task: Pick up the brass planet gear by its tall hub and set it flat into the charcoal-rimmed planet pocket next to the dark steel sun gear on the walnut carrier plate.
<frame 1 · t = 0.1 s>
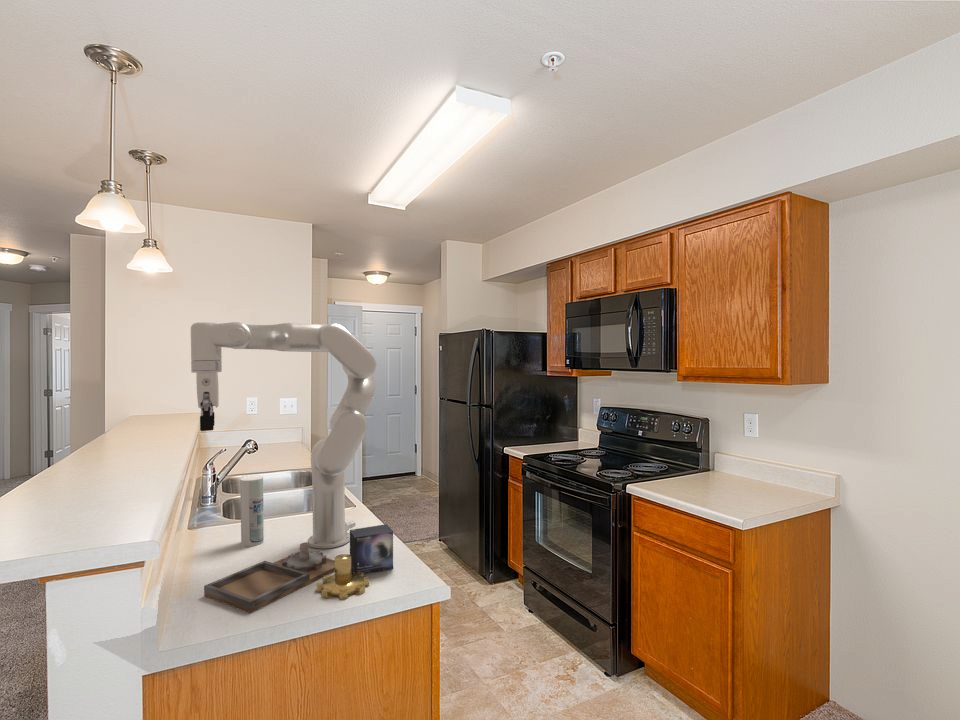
hand: (207, 428, 145), 37 cm above the counter, tool pointing down, fingers open, 9 cm apart
small box: (371, 569, 140), on the counter
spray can: (252, 543, 159), on the counter
planet gear: (343, 587, 128), on the counter
carrier plate: (278, 580, 133), on the counter
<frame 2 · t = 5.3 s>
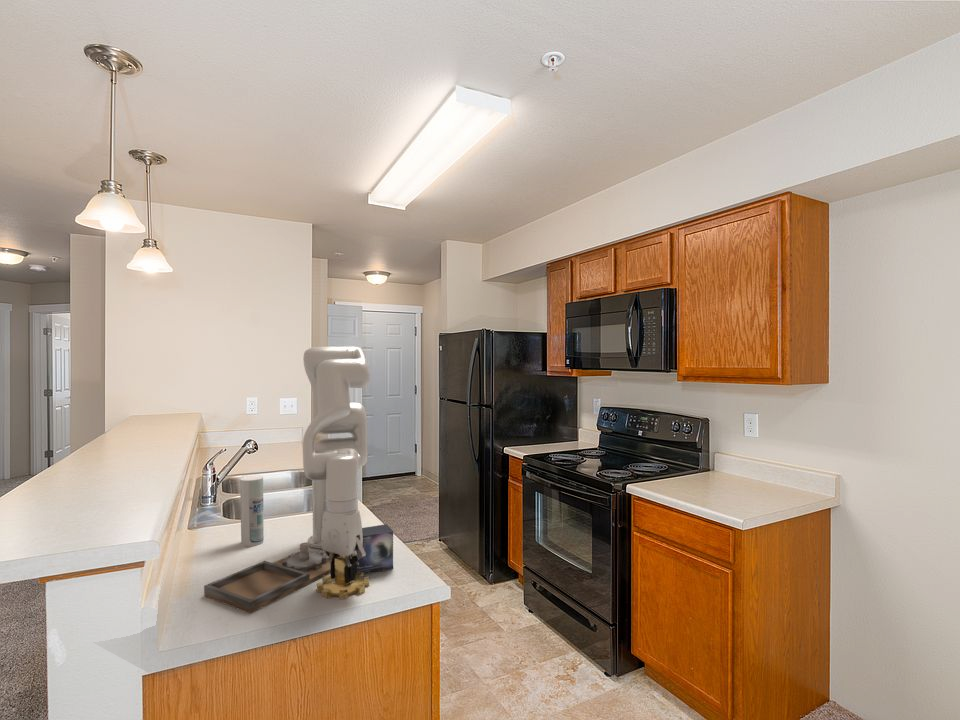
hand: (343, 578, 128), 2 cm above the counter, tool pointing down, fingers closed on planet gear, 4 cm apart
planet gear: (343, 587, 128), on the counter, touching gripper
everything else where it was.
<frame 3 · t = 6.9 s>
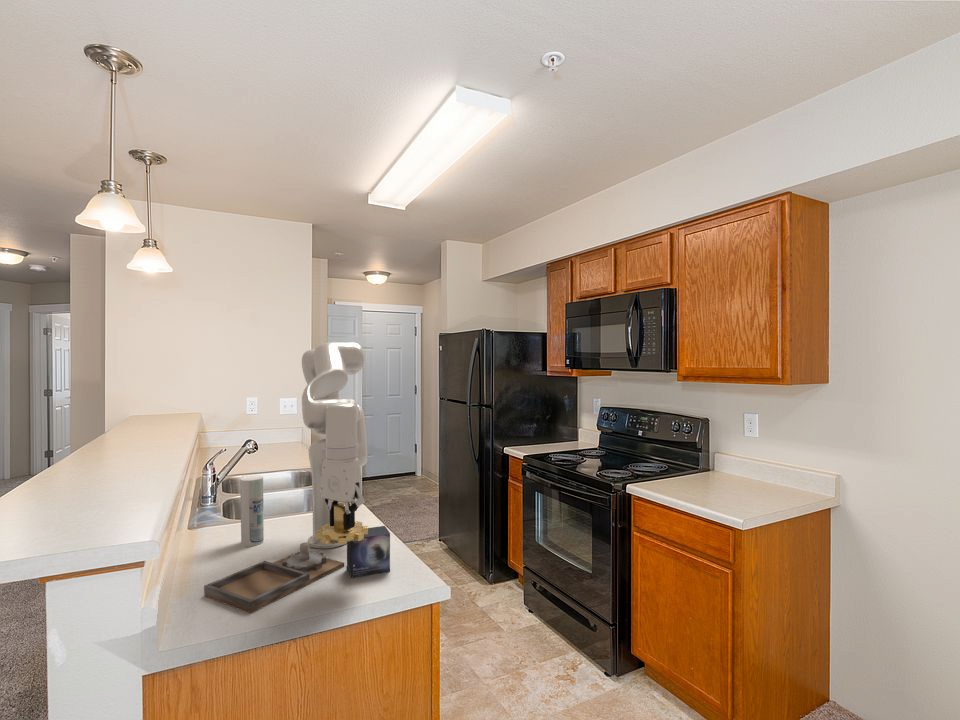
hand: (342, 525, 129), 15 cm above the counter, tool pointing down, fingers closed on planet gear, 4 cm apart
small box: (368, 571, 138), on the counter
planet gear: (342, 535, 129), point 13 cm above the counter, touching gripper
everything else where it was.
when the fingers open (5 cm above the counter, at t = 11.9 s): planet gear drops 1 cm, resting on carrier plate.
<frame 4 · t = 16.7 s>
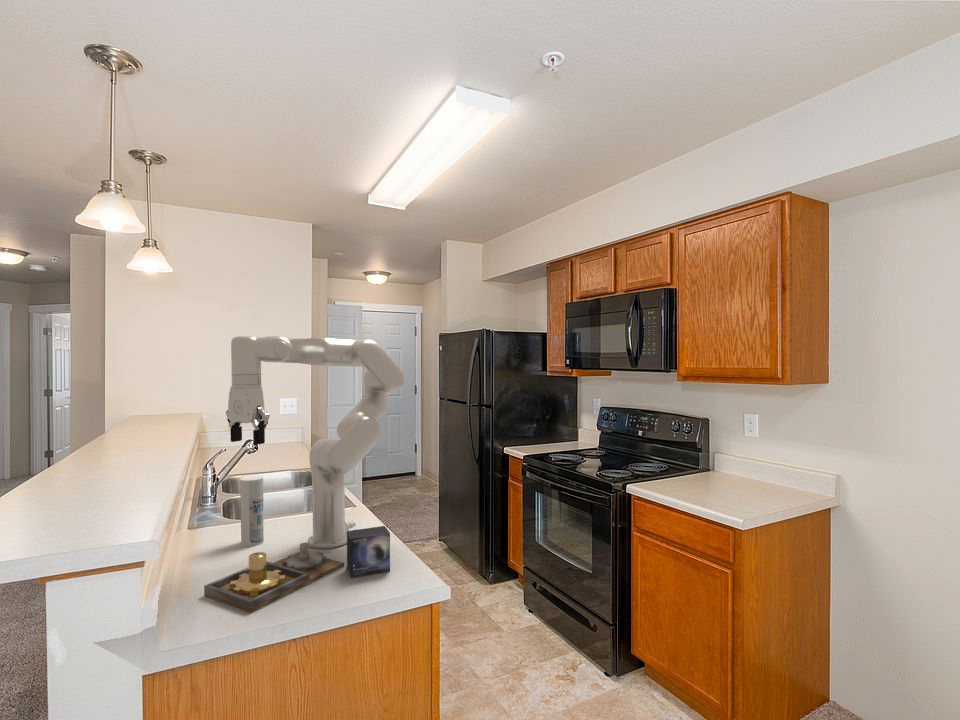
hand: (247, 442, 144), 33 cm above the counter, tool pointing down, fingers open, 9 cm apart
planet gear: (258, 585, 128), point 1 cm above the counter, touching carrier plate
everything else where it was.
at the end: planet gear 0.0 cm from the target spot, point 1.0 cm above the counter; planet gear tilted 0°; the gripper is holding nothing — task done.
